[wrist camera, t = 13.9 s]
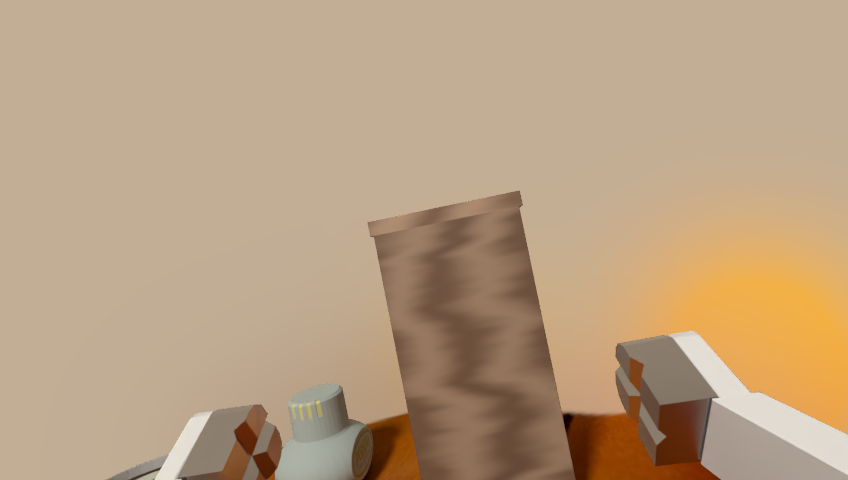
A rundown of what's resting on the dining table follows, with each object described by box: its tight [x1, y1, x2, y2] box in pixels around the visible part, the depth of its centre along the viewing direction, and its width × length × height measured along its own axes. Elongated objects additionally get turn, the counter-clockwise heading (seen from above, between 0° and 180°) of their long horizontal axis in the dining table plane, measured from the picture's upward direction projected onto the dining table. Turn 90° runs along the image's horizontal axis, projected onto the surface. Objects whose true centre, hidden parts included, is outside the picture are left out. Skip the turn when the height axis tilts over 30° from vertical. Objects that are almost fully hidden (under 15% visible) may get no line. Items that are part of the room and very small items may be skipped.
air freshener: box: [275, 384, 373, 480], centre depth 44 cm, size 11×8×10 cm
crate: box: [368, 191, 576, 480], centre depth 39 cm, size 13×14×26 cm
